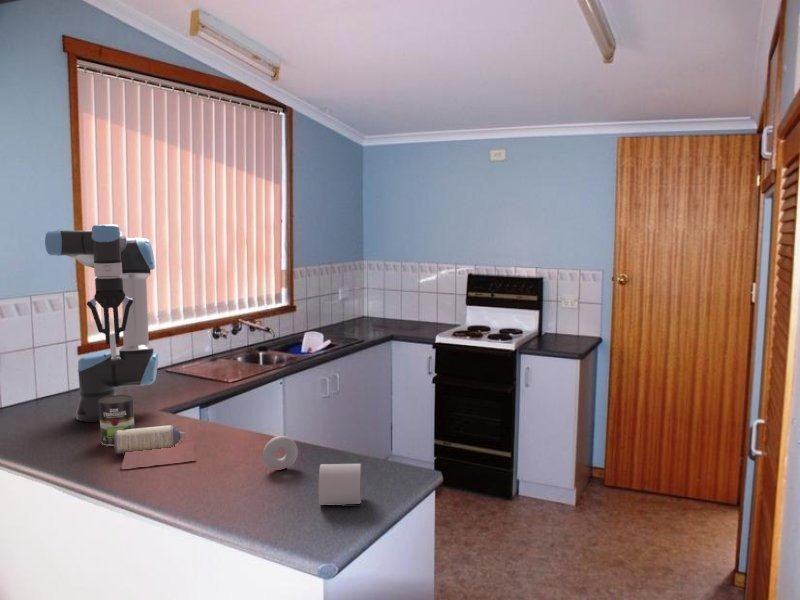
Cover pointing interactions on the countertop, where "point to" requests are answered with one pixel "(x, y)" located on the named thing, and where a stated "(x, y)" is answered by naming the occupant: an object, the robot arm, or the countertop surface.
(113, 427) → the coffee can
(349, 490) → the toilet paper
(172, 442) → the aerosol can
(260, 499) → the countertop surface
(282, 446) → the donut
